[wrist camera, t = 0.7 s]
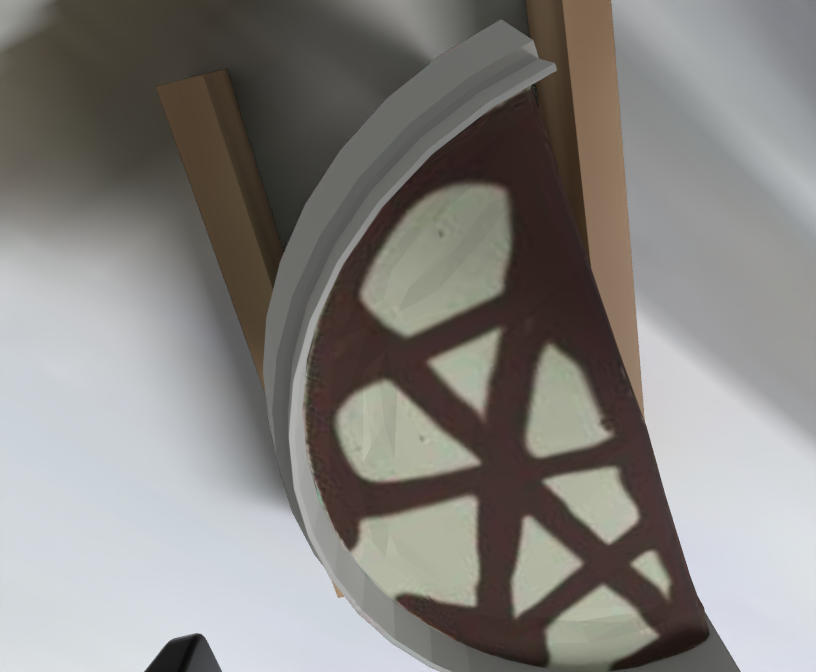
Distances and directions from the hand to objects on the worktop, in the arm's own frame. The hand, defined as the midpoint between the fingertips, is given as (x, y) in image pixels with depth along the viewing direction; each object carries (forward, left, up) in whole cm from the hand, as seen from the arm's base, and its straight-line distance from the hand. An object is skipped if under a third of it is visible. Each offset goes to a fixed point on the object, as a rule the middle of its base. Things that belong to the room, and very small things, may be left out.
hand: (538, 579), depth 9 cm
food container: (+1, 0, -12) cm, 12 cm away
